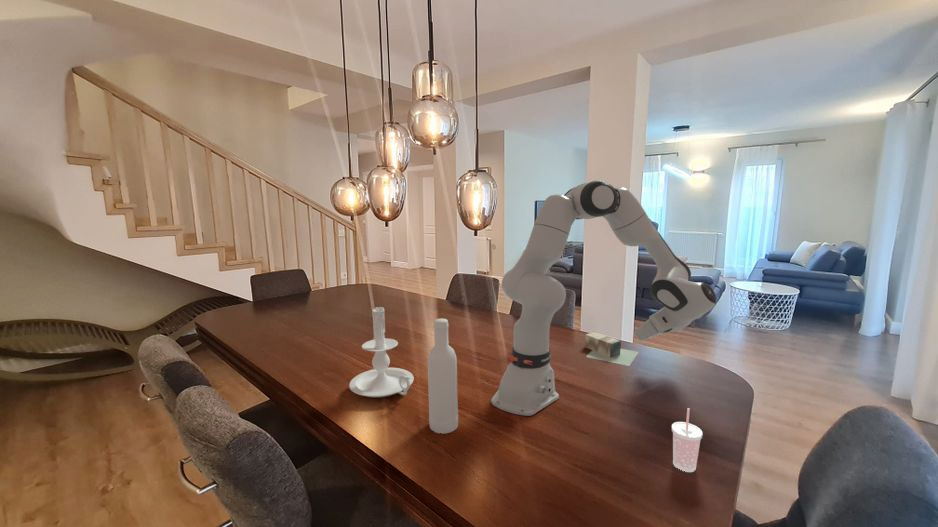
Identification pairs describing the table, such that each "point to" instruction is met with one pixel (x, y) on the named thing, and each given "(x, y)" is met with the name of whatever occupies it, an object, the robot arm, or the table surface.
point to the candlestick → (381, 366)
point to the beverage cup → (686, 444)
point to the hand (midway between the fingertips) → (644, 338)
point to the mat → (615, 357)
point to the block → (602, 344)
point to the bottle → (442, 382)
